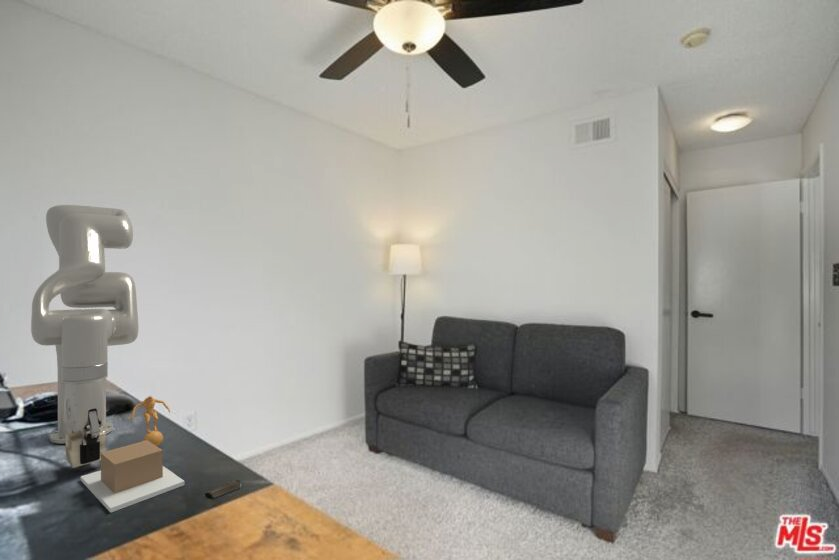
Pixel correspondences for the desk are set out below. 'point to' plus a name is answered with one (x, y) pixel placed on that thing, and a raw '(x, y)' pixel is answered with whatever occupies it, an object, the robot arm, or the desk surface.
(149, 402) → the figurine
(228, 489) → the block
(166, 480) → the build board
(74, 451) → the maple block
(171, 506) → the desk surface
